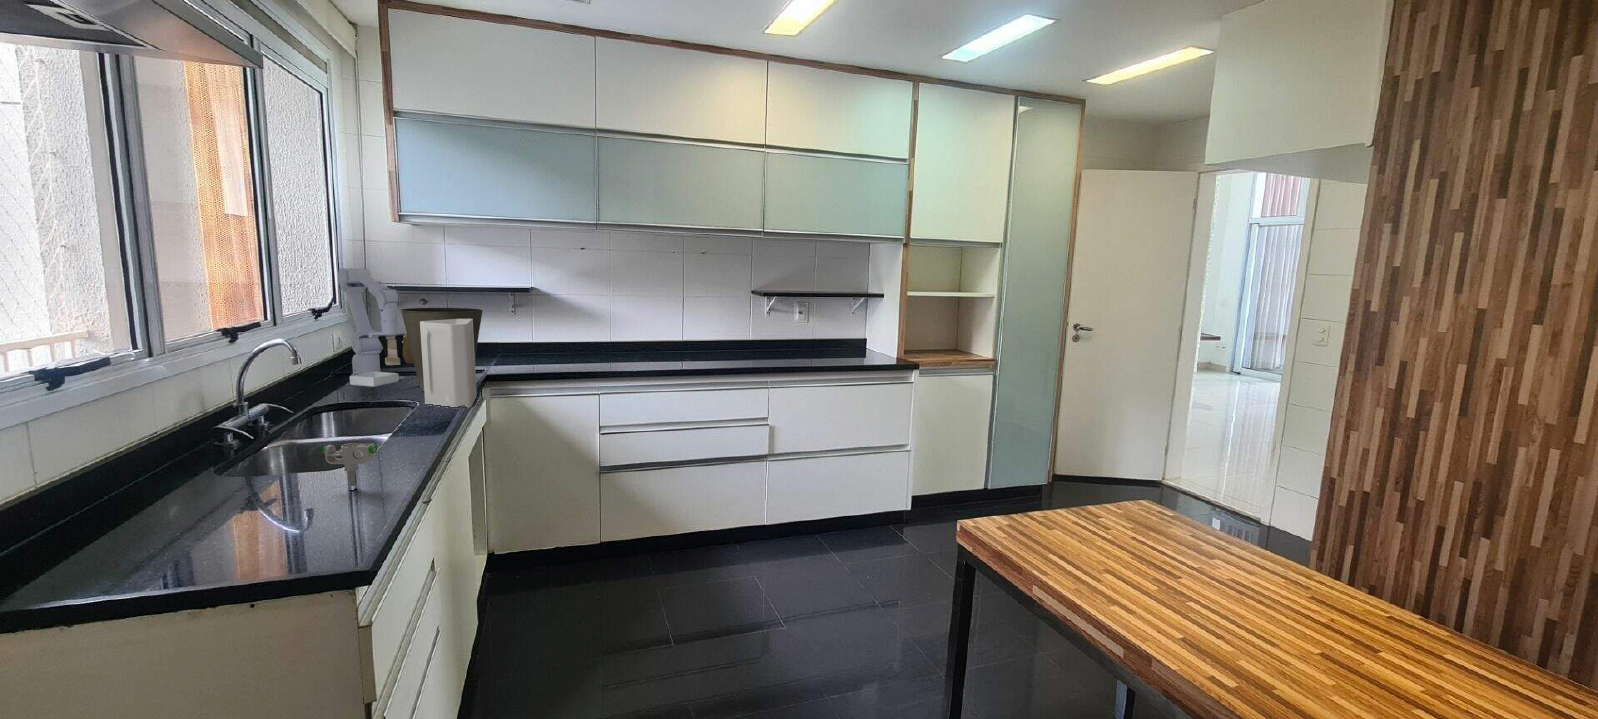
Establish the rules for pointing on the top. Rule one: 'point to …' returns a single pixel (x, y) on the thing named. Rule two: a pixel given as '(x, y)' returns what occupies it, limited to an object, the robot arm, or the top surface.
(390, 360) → the strut
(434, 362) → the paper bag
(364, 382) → the tray
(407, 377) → the stud plate
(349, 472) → the mechanical component
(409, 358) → the squeeze bottle
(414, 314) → the waste basket
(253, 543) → the top surface
